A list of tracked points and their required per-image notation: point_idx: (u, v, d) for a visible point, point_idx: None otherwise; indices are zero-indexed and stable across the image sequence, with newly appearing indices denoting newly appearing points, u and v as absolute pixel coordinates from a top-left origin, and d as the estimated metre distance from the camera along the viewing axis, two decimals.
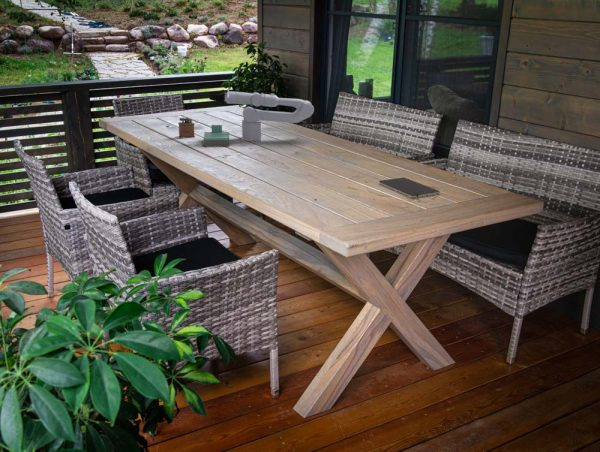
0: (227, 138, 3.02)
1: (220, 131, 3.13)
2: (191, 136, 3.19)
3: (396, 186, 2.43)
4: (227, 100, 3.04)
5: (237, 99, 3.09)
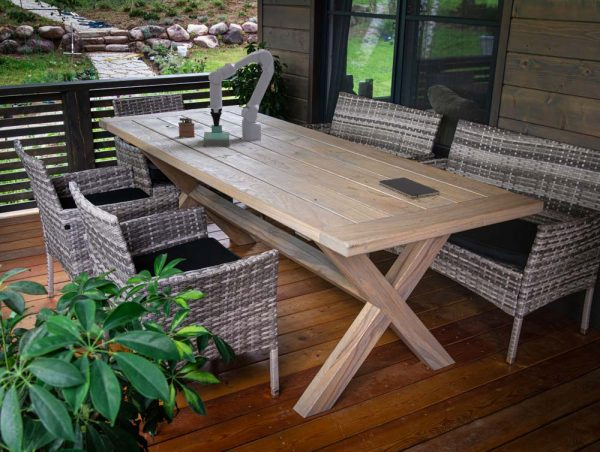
0: (227, 138, 3.02)
1: (220, 131, 3.13)
2: (191, 136, 3.19)
3: (396, 186, 2.43)
4: (216, 109, 3.03)
5: (216, 98, 3.05)
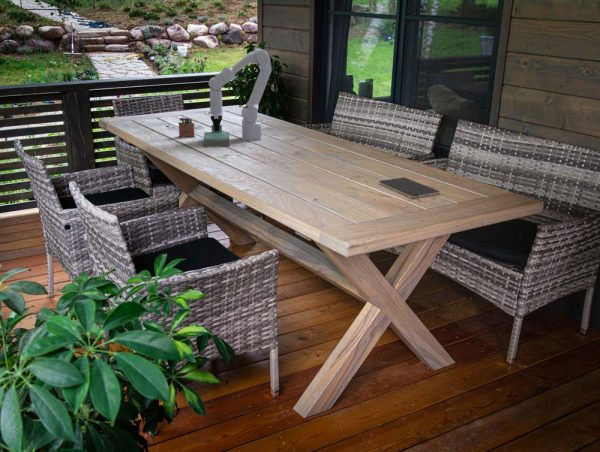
0: (227, 138, 3.02)
1: (220, 131, 3.13)
2: (191, 136, 3.19)
3: (396, 186, 2.43)
4: (217, 116, 3.04)
5: (216, 104, 3.06)
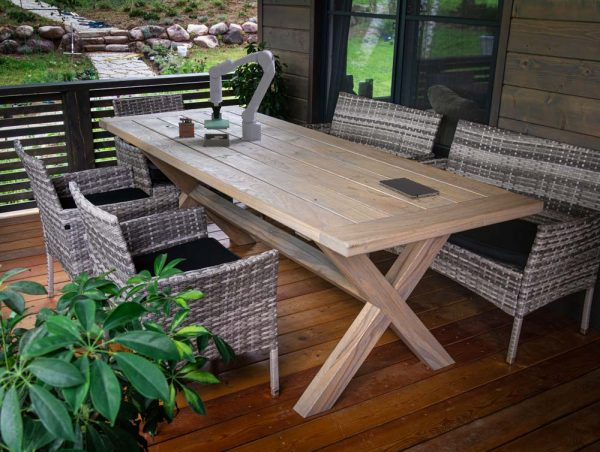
0: (227, 126, 3.06)
1: (220, 119, 3.17)
2: (191, 136, 3.19)
3: (396, 186, 2.43)
4: (217, 103, 3.07)
5: (216, 91, 3.10)
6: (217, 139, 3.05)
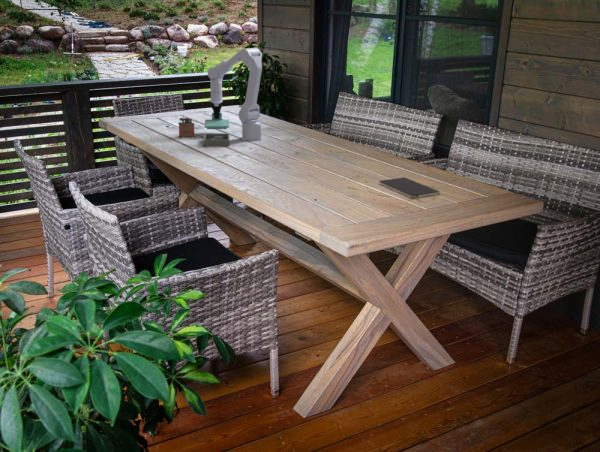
0: (227, 126, 3.18)
1: (220, 119, 3.29)
2: (191, 136, 3.19)
3: (396, 186, 2.43)
4: (217, 103, 3.19)
5: (216, 92, 3.22)
6: (217, 139, 3.05)
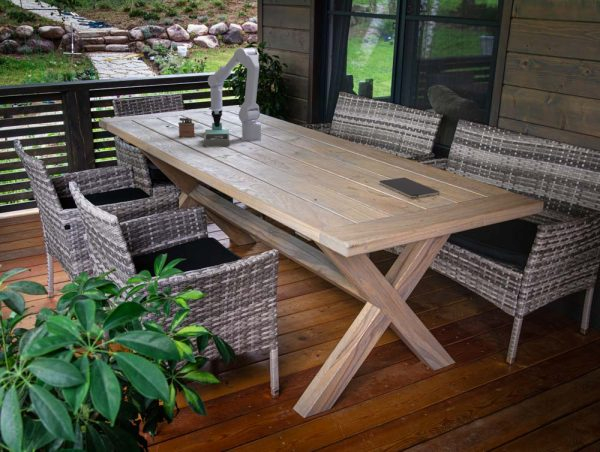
0: None
1: (220, 128, 3.31)
2: (191, 136, 3.19)
3: (396, 186, 2.43)
4: (217, 111, 3.21)
5: (217, 100, 3.23)
6: (217, 139, 3.05)
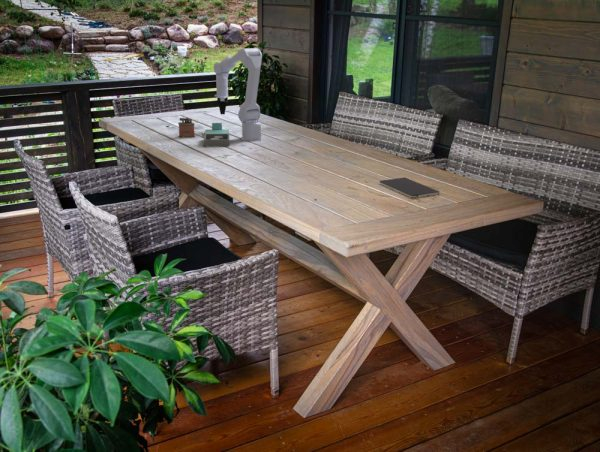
0: None
1: (220, 128, 3.31)
2: (191, 136, 3.19)
3: (396, 186, 2.43)
4: (223, 98, 3.22)
5: (222, 87, 3.25)
6: (217, 139, 3.05)
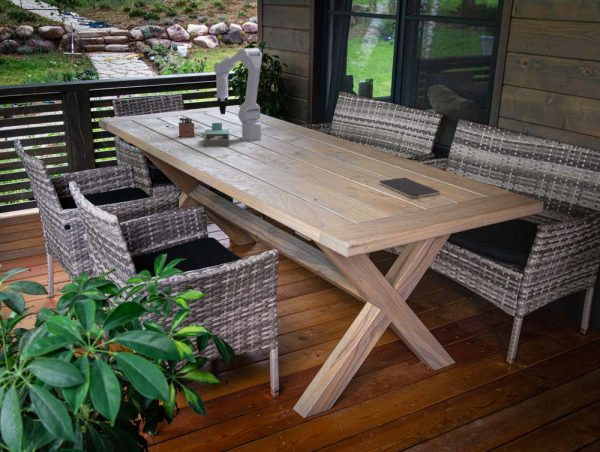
0: None
1: (220, 128, 3.31)
2: (191, 136, 3.19)
3: (396, 186, 2.43)
4: (223, 98, 3.22)
5: (222, 87, 3.25)
6: (217, 139, 3.05)
